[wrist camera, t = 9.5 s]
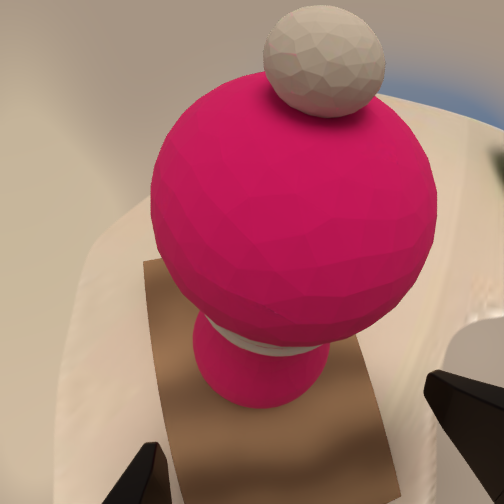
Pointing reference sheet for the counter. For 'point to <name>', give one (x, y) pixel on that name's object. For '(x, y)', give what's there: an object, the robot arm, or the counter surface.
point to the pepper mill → (292, 208)
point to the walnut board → (266, 423)
